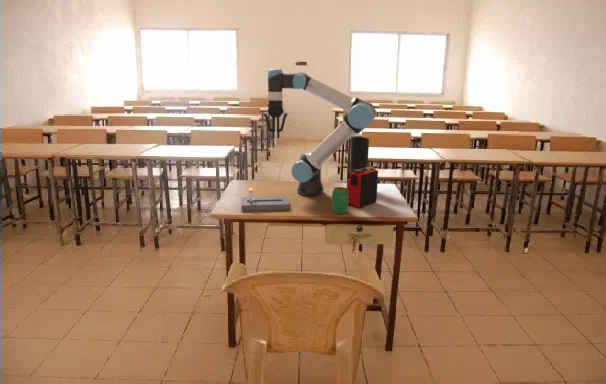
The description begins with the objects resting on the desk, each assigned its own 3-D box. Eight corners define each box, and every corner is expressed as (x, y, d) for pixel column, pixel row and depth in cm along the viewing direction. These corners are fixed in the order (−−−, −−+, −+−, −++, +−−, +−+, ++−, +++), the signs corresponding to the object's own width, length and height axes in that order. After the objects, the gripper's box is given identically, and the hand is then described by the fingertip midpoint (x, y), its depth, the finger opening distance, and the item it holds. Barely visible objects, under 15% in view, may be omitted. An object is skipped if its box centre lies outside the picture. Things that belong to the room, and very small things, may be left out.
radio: (362, 198, 252) (364, 162, 247) (377, 202, 245) (379, 166, 240) (344, 204, 241) (345, 167, 236) (359, 208, 235) (360, 170, 229)
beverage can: (342, 208, 234) (343, 186, 231) (350, 213, 228) (351, 190, 224) (328, 210, 231) (329, 187, 228) (337, 215, 224) (337, 192, 221)
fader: (253, 203, 239) (253, 187, 237) (253, 206, 234) (253, 190, 232) (249, 204, 239) (248, 188, 236) (249, 207, 234) (249, 190, 231)
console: (286, 201, 245) (286, 195, 245) (289, 209, 232) (289, 203, 231) (241, 202, 243) (241, 197, 242) (241, 211, 229) (241, 205, 228)
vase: (367, 191, 266) (370, 140, 257) (350, 191, 266) (352, 140, 257) (365, 186, 276) (367, 137, 267) (348, 186, 275) (350, 137, 267)
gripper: (287, 99, 244) (287, 142, 251) (262, 99, 242) (263, 143, 249) (288, 100, 237) (288, 145, 243) (263, 100, 235) (264, 145, 242)
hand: (275, 144), depth 246 cm, fingers closed
